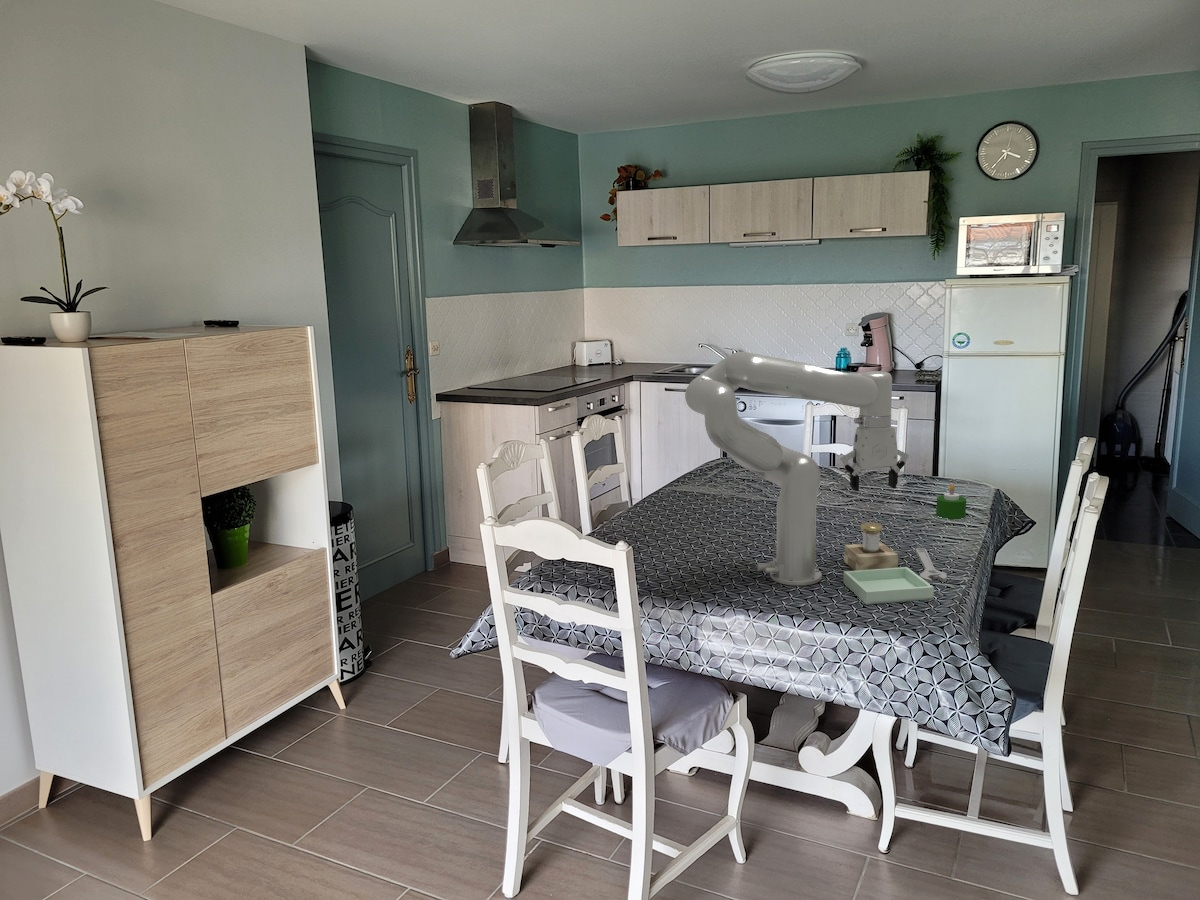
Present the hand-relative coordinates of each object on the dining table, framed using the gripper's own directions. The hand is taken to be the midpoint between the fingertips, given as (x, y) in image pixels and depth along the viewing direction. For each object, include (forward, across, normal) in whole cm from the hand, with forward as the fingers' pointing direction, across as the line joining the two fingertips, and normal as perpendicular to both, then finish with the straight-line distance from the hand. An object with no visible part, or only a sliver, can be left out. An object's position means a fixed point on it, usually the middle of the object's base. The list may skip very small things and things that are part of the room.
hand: (873, 488), depth 221 cm
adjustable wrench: (+21, +14, -4) cm, 26 cm away
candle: (+21, +40, +38) cm, 59 cm away
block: (+21, 0, 0) cm, 21 cm away
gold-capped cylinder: (+21, 0, 0) cm, 21 cm away
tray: (+20, -4, -17) cm, 27 cm away
